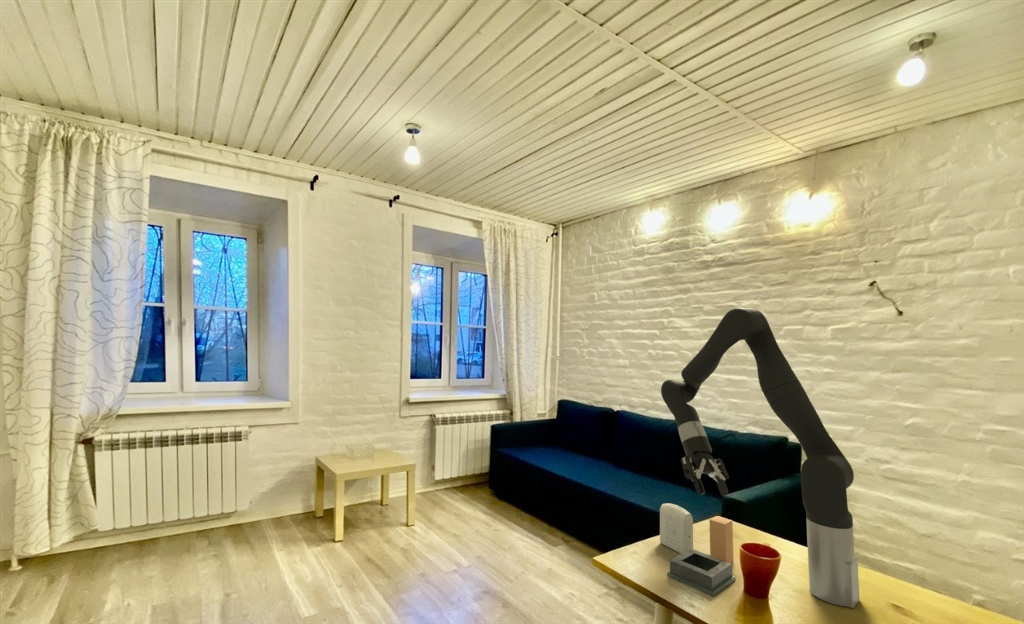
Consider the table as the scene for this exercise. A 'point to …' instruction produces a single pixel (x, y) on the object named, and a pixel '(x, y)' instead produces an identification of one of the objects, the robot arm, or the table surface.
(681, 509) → the photo printer
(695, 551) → the square frame holder
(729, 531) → the tall orange pillar
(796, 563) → the table surface
